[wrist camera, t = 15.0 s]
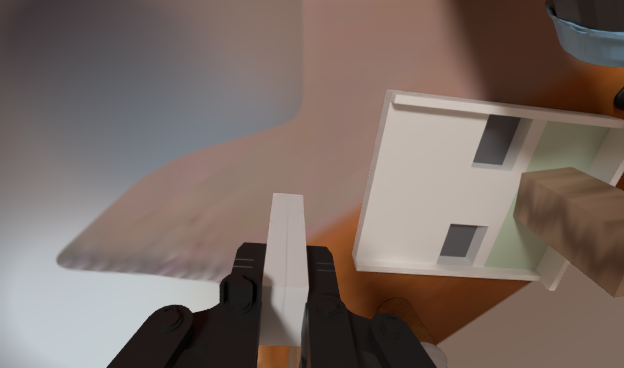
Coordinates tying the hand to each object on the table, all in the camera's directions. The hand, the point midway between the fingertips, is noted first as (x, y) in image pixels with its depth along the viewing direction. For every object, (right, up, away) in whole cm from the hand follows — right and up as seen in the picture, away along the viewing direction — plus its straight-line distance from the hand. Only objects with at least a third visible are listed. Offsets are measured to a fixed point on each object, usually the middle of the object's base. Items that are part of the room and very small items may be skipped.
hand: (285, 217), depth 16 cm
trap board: (+24, +1, +30) cm, 39 cm away
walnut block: (+34, +1, +28) cm, 44 cm away
